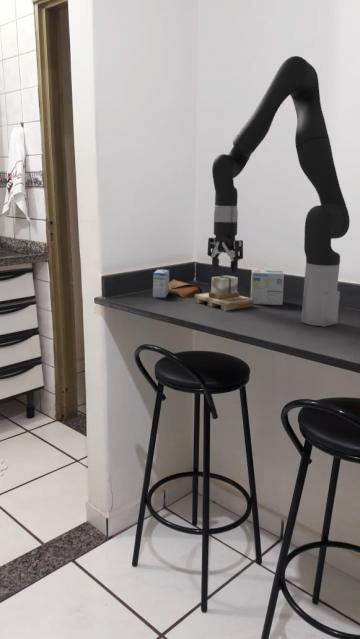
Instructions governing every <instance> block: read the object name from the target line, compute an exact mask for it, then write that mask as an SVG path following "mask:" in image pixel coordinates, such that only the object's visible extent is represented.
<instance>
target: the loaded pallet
mask: <svg viewBox="0 0 360 639" xmlns="http://www.w3.org/2000/svg"><path fill="white" fill-rule="evenodd" d="M238 280H239V278H238V277H237V276H233V275H219V276H212V277H211V285H210V286H211V287H210V292H208V293H209V297H210V298H214V299H218V300H221V299H227V298H234V297H239V295H240V292H239V291H238V282H239V281H238Z"/></svg>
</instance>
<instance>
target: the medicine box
mask: <svg viewBox="0 0 360 639" xmlns="http://www.w3.org/2000/svg"><path fill="white" fill-rule="evenodd" d="M152 282H153V284H152V297H153V298H160V299H161V298H164V299H165V298H166V297H167V296H168V294H170V293H169V282H170V270H169V269H156V270H155V271H154V272H153V274H152Z"/></svg>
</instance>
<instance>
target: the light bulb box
mask: <svg viewBox="0 0 360 639" xmlns="http://www.w3.org/2000/svg"><path fill="white" fill-rule="evenodd" d="M284 279H285V273H284V271H283V270H269V269H268V270H267V269H265V270H264V269H262V270H261V269H259V270H258V269H252V270H251V278H250V298H252V299H254V302H253V304H252V305H273V306H275V305H276V306H282V305H283V300H284V298H283V297H284V283H285V282H284V281H285V280H284Z"/></svg>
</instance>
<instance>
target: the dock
mask: <svg viewBox="0 0 360 639" xmlns="http://www.w3.org/2000/svg"><path fill="white" fill-rule="evenodd" d="M209 293H210V292H202V294H195V295H194V297H193V298H194V303H197V304H205V303H207V307H211V308H213V307H220V310H221V311H224V312H226V311H233V310H238V309H244V308H250V307H253V305H254V304H253V302H254V299H252V298H251V297H247V296H243V295H240V294H239V297H234V298H227V299H221V300H218V299H214V298H210V297H209Z"/></svg>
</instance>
